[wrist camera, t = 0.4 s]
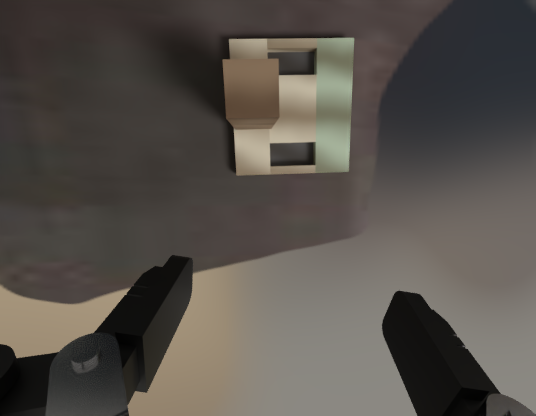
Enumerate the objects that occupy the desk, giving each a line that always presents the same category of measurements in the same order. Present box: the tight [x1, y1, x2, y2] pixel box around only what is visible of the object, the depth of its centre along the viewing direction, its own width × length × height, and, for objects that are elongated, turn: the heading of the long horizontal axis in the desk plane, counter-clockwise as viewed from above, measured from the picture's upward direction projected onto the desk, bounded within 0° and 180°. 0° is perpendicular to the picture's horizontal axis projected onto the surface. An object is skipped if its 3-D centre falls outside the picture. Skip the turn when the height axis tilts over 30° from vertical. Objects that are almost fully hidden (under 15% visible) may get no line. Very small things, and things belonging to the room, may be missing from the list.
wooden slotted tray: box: [229, 38, 354, 175], centre depth 32 cm, size 16×15×2 cm
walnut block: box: [223, 59, 280, 130], centre depth 26 cm, size 4×4×11 cm
